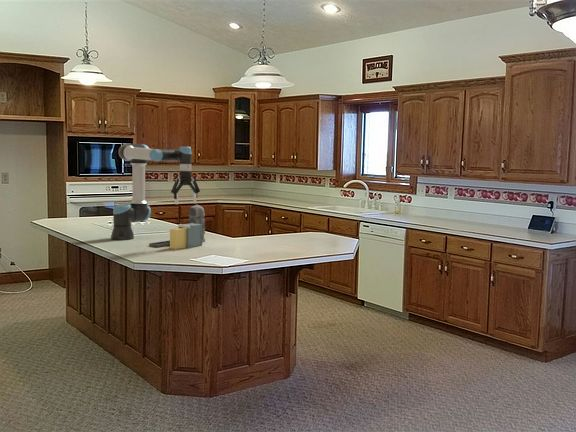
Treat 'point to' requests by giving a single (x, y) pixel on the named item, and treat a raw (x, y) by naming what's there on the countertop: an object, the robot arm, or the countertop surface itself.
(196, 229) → the dispenser
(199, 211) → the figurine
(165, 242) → the tray
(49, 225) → the countertop surface
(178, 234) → the yellow tall slab
